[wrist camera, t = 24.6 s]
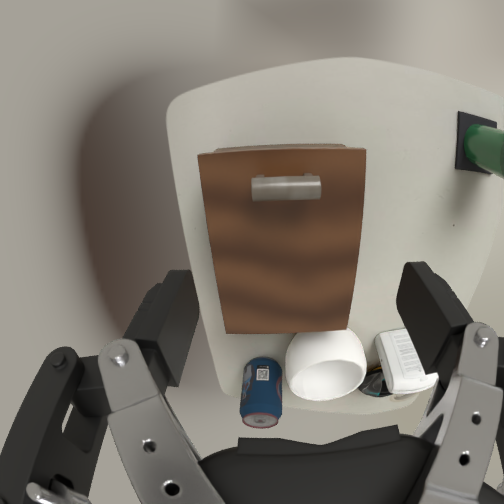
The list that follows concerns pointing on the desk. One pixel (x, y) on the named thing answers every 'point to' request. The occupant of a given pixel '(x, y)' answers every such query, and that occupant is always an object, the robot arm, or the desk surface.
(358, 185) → the lid
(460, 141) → the mat
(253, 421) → the soda can
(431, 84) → the desk surface
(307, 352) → the cup
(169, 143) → the desk surface
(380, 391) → the computer mouse
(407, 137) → the desk surface
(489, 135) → the green pot
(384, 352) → the photo printer
